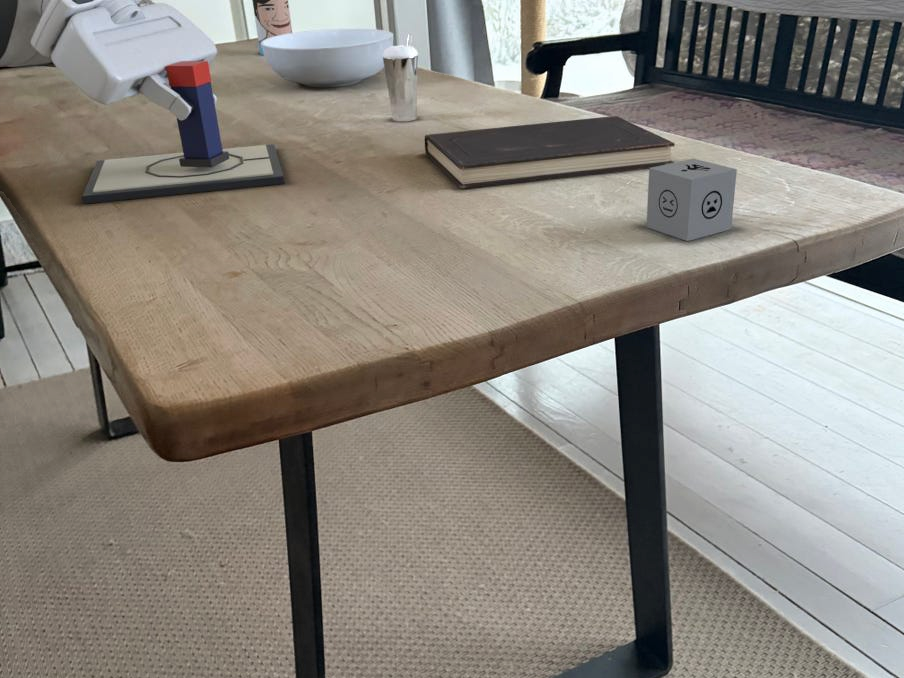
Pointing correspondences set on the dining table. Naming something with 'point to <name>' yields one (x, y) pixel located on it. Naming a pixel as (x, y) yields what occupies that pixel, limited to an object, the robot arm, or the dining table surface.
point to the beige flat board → (181, 175)
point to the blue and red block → (197, 115)
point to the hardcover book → (545, 151)
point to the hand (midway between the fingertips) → (200, 110)
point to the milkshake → (402, 80)
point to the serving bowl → (327, 55)
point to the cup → (271, 19)
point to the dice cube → (690, 198)
